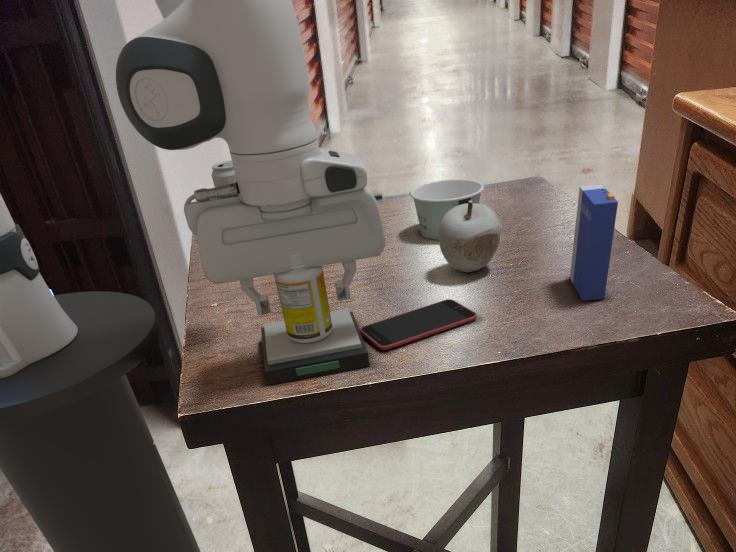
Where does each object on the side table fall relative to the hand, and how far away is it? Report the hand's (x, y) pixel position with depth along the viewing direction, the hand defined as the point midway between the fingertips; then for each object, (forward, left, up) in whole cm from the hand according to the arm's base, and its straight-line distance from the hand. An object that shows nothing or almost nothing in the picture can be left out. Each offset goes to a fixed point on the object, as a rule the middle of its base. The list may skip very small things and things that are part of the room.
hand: (304, 305), depth 71 cm
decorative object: (+25, +17, -6) cm, 31 cm away
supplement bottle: (0, 0, -4) cm, 4 cm away
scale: (0, 0, -6) cm, 6 cm away
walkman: (+37, +4, -6) cm, 38 cm away
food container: (+27, +36, -6) cm, 45 cm away
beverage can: (-8, +54, -6) cm, 55 cm away
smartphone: (+14, +2, -6) cm, 15 cm away
